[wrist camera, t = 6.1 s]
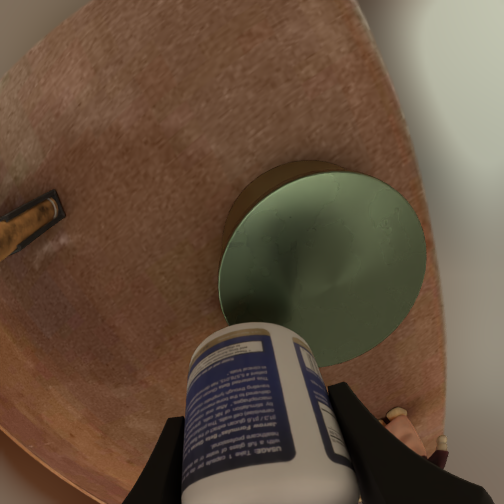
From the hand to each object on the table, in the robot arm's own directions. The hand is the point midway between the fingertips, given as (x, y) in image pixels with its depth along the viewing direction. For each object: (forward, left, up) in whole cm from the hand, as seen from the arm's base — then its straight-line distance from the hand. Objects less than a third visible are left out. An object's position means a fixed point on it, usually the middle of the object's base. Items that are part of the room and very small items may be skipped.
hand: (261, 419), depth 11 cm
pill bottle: (0, 0, -3) cm, 3 cm away
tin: (+2, -4, -10) cm, 11 cm away
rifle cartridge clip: (+8, +15, -10) cm, 20 cm away
